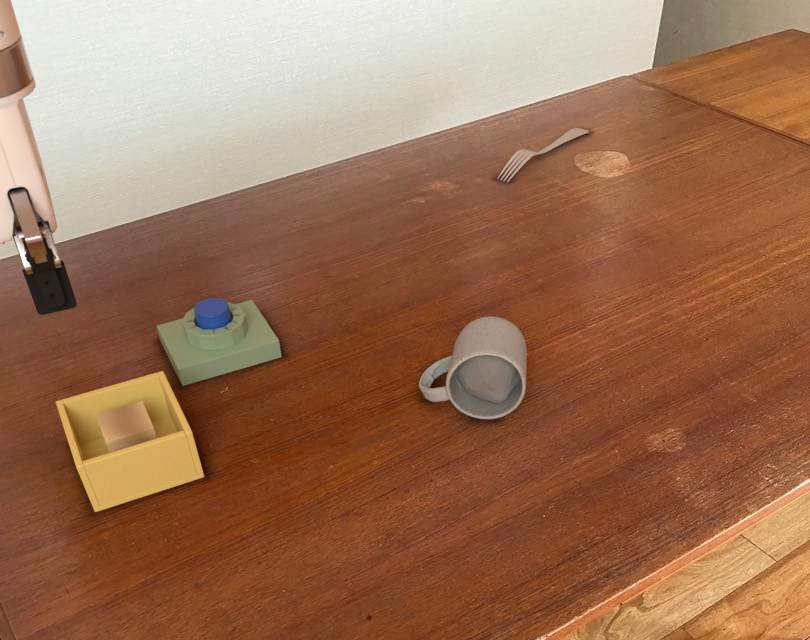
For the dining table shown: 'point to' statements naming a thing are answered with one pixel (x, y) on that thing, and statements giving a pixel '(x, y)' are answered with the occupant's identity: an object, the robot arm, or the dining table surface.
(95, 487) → the bin
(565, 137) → the fork
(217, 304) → the blue short cylinder
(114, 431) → the block
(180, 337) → the green socket base
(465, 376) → the ceramic mug
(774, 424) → the dining table surface
